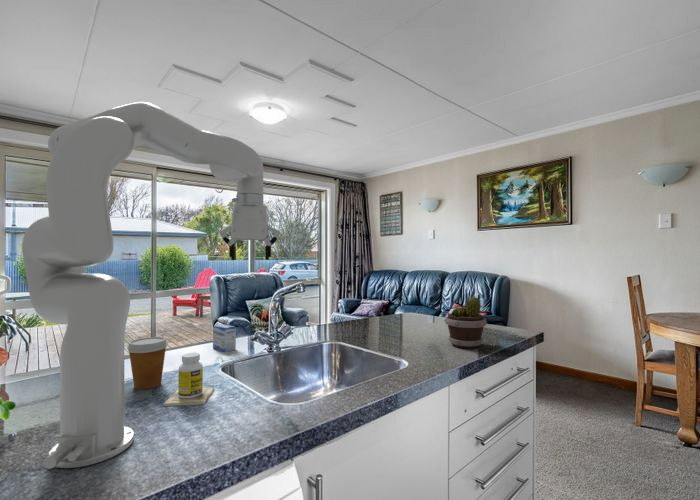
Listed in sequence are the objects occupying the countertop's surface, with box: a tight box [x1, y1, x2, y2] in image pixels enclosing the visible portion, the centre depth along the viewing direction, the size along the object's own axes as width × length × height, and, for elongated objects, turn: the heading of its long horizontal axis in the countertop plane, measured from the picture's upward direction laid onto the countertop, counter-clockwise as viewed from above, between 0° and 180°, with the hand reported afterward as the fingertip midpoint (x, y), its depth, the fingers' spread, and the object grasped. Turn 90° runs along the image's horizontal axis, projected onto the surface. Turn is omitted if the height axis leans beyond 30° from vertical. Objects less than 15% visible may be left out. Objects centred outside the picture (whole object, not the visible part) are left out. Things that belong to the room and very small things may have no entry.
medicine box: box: [212, 323, 237, 353], centre depth 133 cm, size 8×4×9 cm, turn 55°
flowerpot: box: [443, 294, 488, 349], centre depth 136 cm, size 14×15×20 cm
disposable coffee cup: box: [126, 336, 168, 391], centre depth 97 cm, size 10×10×12 cm
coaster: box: [163, 387, 215, 407], centre depth 88 cm, size 9×9×1 cm
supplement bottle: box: [177, 352, 204, 399], centre depth 88 cm, size 5×5×10 cm
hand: (250, 259), depth 106 cm, fingers open, 9 cm apart
